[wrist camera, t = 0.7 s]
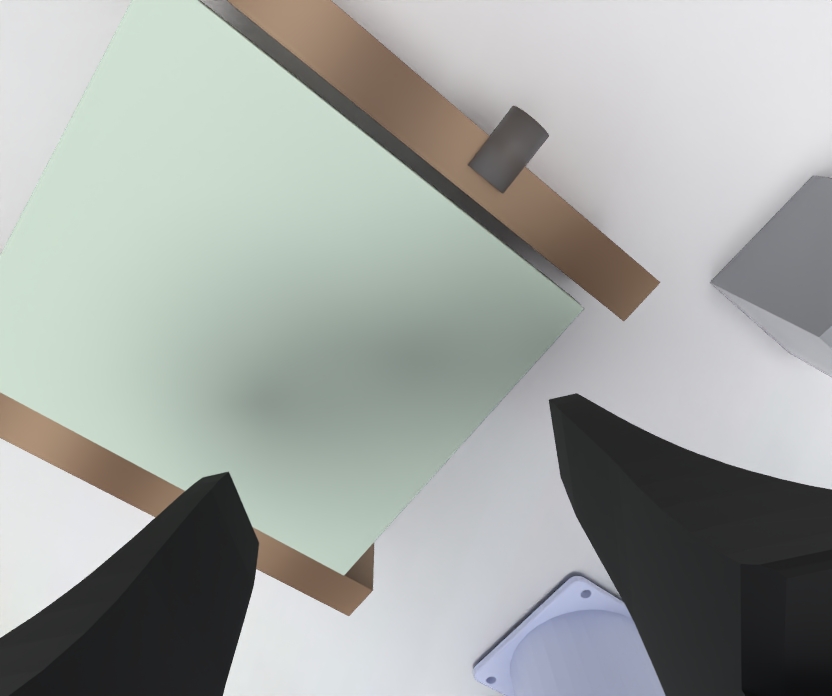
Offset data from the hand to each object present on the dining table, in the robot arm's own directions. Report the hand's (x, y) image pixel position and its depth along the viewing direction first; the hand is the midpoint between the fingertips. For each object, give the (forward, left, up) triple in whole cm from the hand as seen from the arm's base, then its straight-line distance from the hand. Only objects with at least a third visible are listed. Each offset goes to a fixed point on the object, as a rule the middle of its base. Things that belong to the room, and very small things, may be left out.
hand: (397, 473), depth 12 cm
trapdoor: (+4, +1, -9) cm, 9 cm away
